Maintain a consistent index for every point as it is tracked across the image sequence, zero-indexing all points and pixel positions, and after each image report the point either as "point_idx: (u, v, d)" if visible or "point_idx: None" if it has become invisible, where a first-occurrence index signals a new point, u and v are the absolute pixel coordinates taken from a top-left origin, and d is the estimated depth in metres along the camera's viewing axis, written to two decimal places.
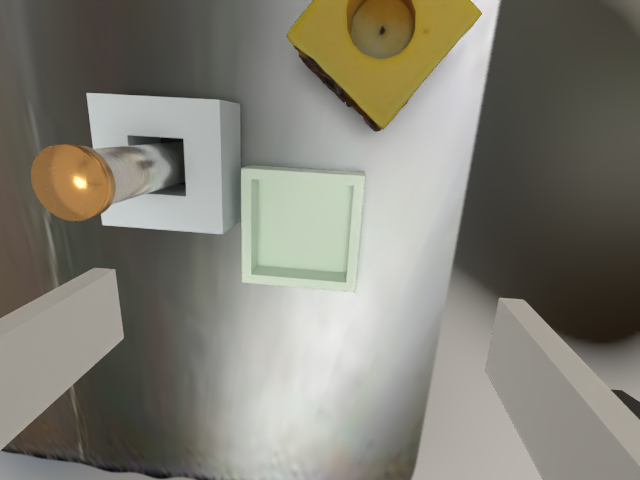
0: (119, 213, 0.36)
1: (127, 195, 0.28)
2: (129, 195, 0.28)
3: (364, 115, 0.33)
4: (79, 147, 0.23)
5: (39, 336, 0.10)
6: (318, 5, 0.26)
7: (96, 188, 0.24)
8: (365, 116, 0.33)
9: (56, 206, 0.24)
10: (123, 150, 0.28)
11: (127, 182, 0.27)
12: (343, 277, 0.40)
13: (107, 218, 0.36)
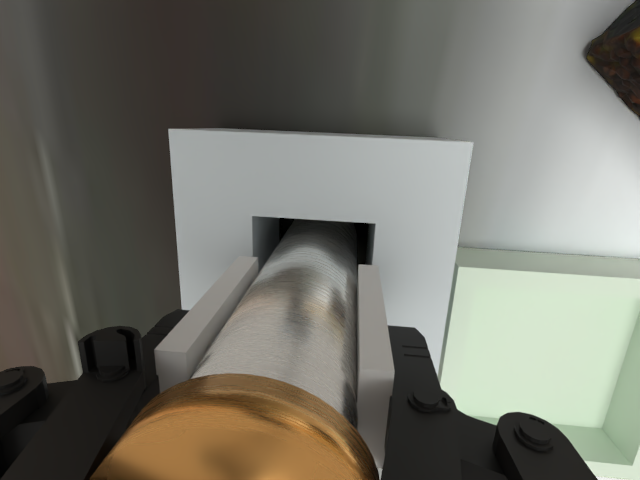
0: None
1: None
2: None
3: None
4: (284, 417, 0.06)
5: (230, 311, 0.12)
6: None
7: None
8: None
9: None
10: (317, 306, 0.10)
11: (356, 421, 0.09)
12: (611, 446, 0.22)
13: None
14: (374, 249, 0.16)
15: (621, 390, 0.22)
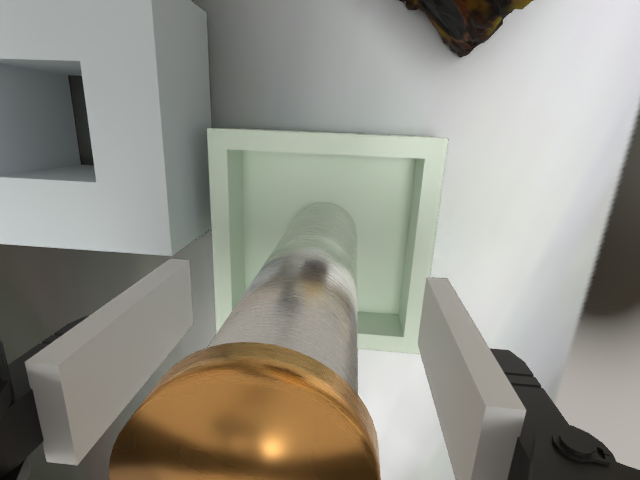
0: None
1: None
2: None
3: (460, 2, 0.15)
4: (293, 377, 0.06)
5: (141, 317, 0.11)
6: None
7: None
8: (462, 5, 0.15)
9: None
10: (320, 290, 0.11)
11: None
12: (395, 325, 0.23)
13: None
14: (84, 89, 0.16)
15: (404, 270, 0.23)
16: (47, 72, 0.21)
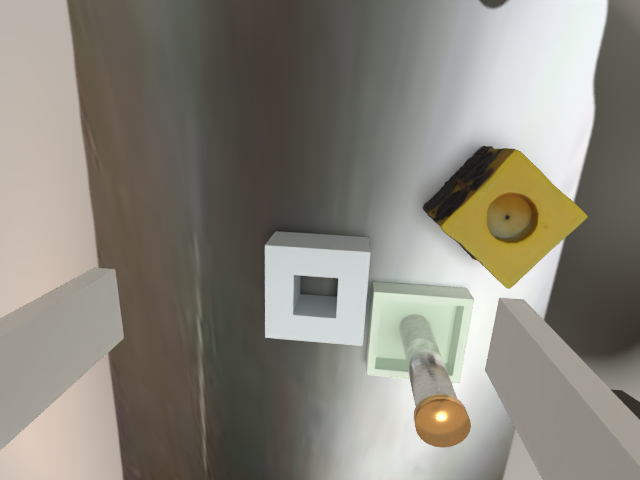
0: (280, 329, 0.46)
1: None
2: None
3: (480, 261, 0.43)
4: (454, 402, 0.33)
5: (39, 336, 0.10)
6: (466, 208, 0.36)
7: (464, 429, 0.34)
8: (480, 261, 0.43)
9: (429, 438, 0.34)
10: (443, 374, 0.38)
11: None
12: (447, 369, 0.50)
13: (270, 333, 0.46)
14: (338, 287, 0.44)
15: (451, 344, 0.50)
16: None
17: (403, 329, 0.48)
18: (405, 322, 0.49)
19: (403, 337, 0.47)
